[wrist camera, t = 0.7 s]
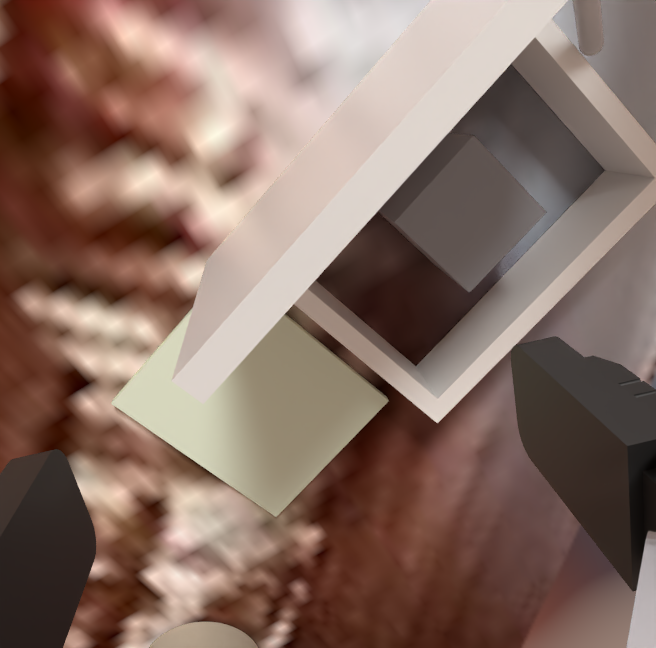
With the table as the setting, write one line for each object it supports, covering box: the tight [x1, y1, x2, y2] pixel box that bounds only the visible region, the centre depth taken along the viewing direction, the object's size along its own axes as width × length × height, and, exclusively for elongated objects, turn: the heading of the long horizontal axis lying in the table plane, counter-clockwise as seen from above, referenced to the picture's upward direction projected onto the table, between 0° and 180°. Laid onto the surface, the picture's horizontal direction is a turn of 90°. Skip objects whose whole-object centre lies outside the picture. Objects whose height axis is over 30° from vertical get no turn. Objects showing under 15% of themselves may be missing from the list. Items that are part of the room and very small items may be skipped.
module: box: [378, 133, 547, 293], centre depth 31 cm, size 5×5×6 cm
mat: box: [111, 308, 389, 517], centre depth 36 cm, size 10×12×1 cm
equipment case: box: [172, 0, 656, 423], centre depth 25 cm, size 19×14×18 cm
